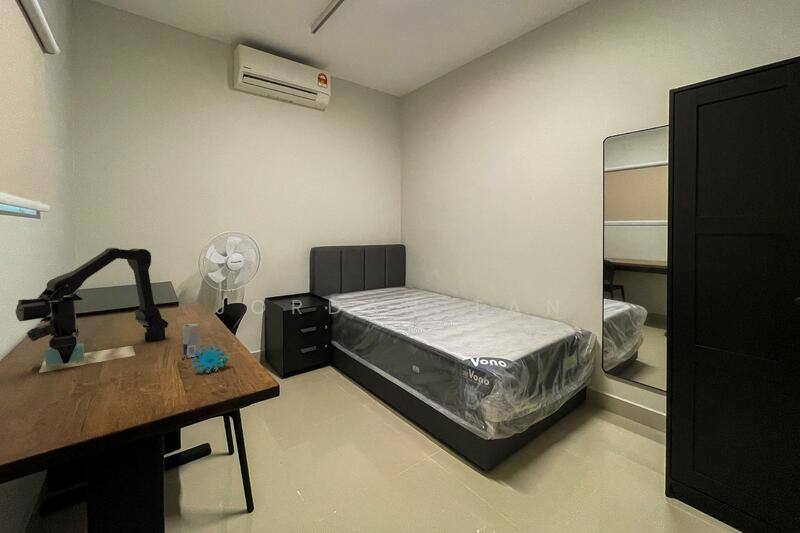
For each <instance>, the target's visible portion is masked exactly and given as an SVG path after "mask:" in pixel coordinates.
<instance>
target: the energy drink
mask: <svg viewBox="0 0 800 533" xmlns="http://www.w3.org/2000/svg"><path fill="white" fill-rule="evenodd" d="M200 338H201V335H200V325H199V323H198V322H197V323H196V322H193V323H192V322H191V323H186V324H183V325H182V348H183V356H185V357H186V358H185V359H192V358H191V357H195V356H196V355H195V353H196V352H198V351H199V352H200V353H201V339H200Z"/></svg>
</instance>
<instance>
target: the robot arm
mask: <svg viewBox="0 0 800 533" xmlns="http://www.w3.org/2000/svg"><path fill="white" fill-rule="evenodd" d="M117 259H120V260H121V259H122V260H126V261H127V263H128V265H129V267H130V268H131V270H132V271H133V273H134V274H133V275H134V280H135V286H136V291H137V296H138V297H137V298H138V302H139V307H138V309H136V310H134V311H133V312H134V315H135V320H136V321H137V322H138V324H140V325H142V327H143V328H144V329H145V331H144V332H143V335H144V342H145V343H146V342H147V343H148V342H159V341H160V342H161V341H162V340H165V339H166V329H167V328H168V326H169V322H168V321H167V320H165V319H164V318H162V315H161V312H160V310H159V308H158V307H157V305H156V304H155V300H154V295H153V289H152V283H151V277H150V268H151V267H150V266H151V264H152V254H151V252H150V251H149V250H148V249H145V248H131V249H121V248H117V247H108V248H106V249H105V250H103V251H102V252H101V253H99V254H97V255H96V256H95V257H92V259H90V260H88V261H87V262H85V263H83V264H82V265H80V266H78V267H77V268H76V269H74V270H72V271H70V272H67V273H63V274H61V275H59V276H55V277H53V278H51V279H50V280H48V281H47V283H46V288H45V289H44V290H43V291H42V292H41V293H40V295H38V296H37V298H30V299H29V298H28V299H27V298H25V299H24V298H22V299H18V303H17V305H16V309H15V315H16V319H17V320H18V321H19V322H27V321H35V320H39V319H40V320H42V319H46V318H48V317H49V316H50V315H51V319H50V320H49V322H48V323H45V324H43V325H40V326H36V327H34V328H31V329H29V330H28V331H27V332H26V335H27V336H28V338H29V339H30V341H31V342H36V341H38V340H39V339H42V338H45V337H47V336H49V335H50V337H51V338H50V339H49V341H48V343H49V348H52V349H56V350H58V352H59V354H60V356H61V359H62V361H63V363H64V364H66V363H68V362H69V360H70V358H71V355H72V353H73V351H74V349H75V346H76V344H78V337H79V333H80V327H79V326H78V325H77V315H76V305H75V303H76V302H77V301H83V297H81V296H79V295H78V294H77V293H75V292H77V291H78V290H79V289H80V288H81V287H82V286H83V285H84V283H85V281H86V280H87V279H89V278H91V277H92V276H93V275H95V274H96V273H98V272H100V271H101V270H102V269H104V268H105V267H107V266H108V265H110V264H112V262H114V261H116V260H117Z"/></svg>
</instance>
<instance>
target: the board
mask: <svg viewBox="0 0 800 533" xmlns="http://www.w3.org/2000/svg"><path fill="white" fill-rule="evenodd" d="M135 356H136V353H135V349H134V346H133V345H129V346H122V347H115V348H110V349H104V350H97V351H89V352H84V361H79V362H74V363H68V364H62V365H56V366H50V367H46V360H45V359H43V362H42V364H41V367H40V369H39V372H38V373H44V372H51V371H57V370H62V369H68V368H72V367H73V368H74V367H78V366H83V365H89V364H94V363H100V362H101V363H102V362H106V361H112V360H118V359H124V358H128V357H135Z"/></svg>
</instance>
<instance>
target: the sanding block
mask: <svg viewBox="0 0 800 533" xmlns="http://www.w3.org/2000/svg"><path fill="white" fill-rule="evenodd" d="M84 347H85V346H84V342H83V343H77V344H76V346H75V349H74V351H73V353H72V355H71V358H70V360H69V362H68V363H74V362H79V361H84V353H85V349H84ZM44 355H45V356H44V360H46V367H50V366H56V365H62V364H64V363H63V361H62V359H61V356H60V354H59V352H58V350H56V349H52V348H51V347H49V348H46V349H45V351H44ZM68 363H66V364H68Z"/></svg>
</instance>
